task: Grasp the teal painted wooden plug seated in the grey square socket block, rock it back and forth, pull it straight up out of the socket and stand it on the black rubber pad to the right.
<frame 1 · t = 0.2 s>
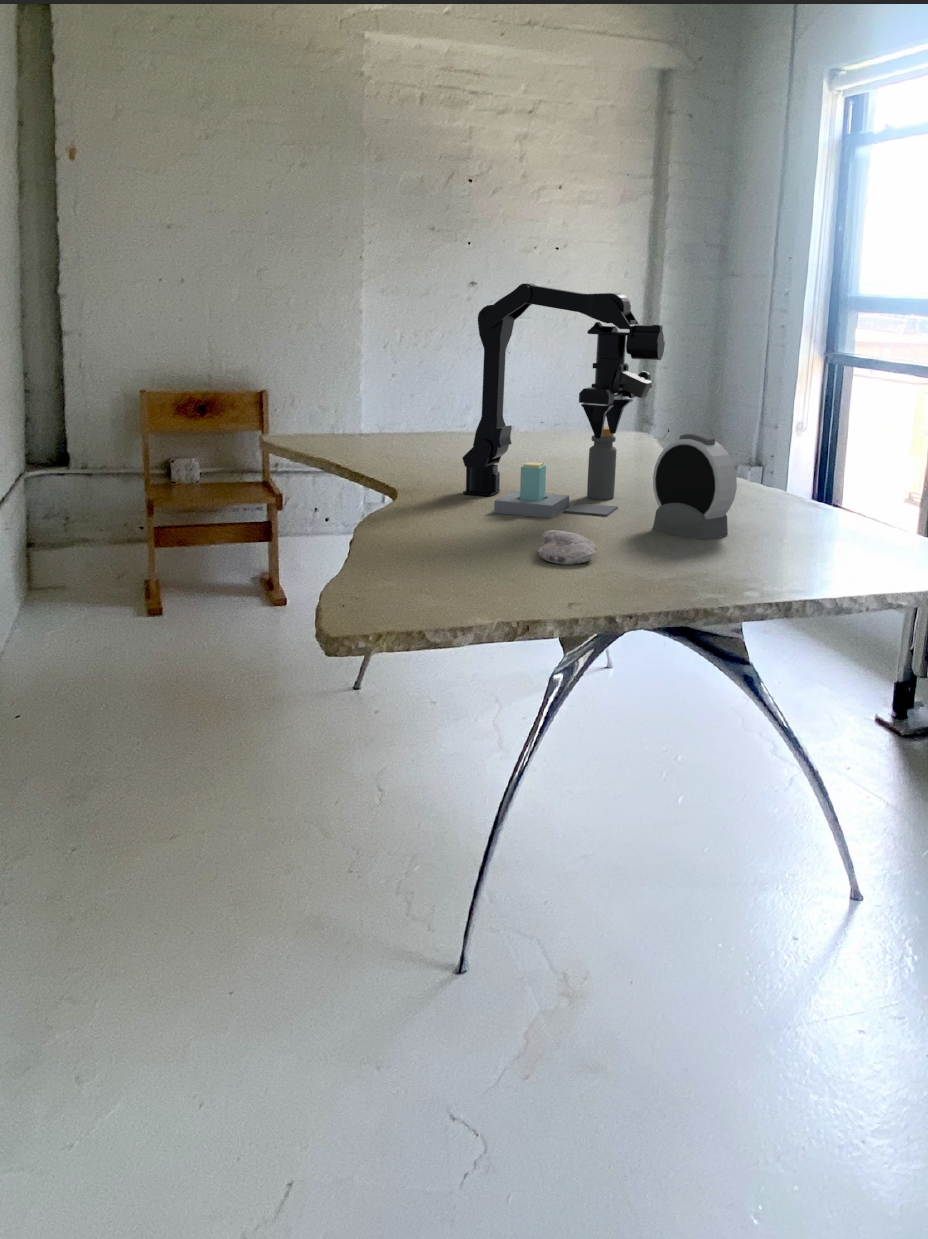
hand: (605, 436, 219), 14 cm above the table, fingers open, 9 cm apart
plug: (532, 487, 215), in the grey square socket block
alarm clock: (689, 532, 200), on the table
grey square socket block: (532, 510, 217), on the table
pad: (590, 510, 217), on the table
bottle: (600, 498, 231), on the table
fossil: (565, 559, 179), on the table
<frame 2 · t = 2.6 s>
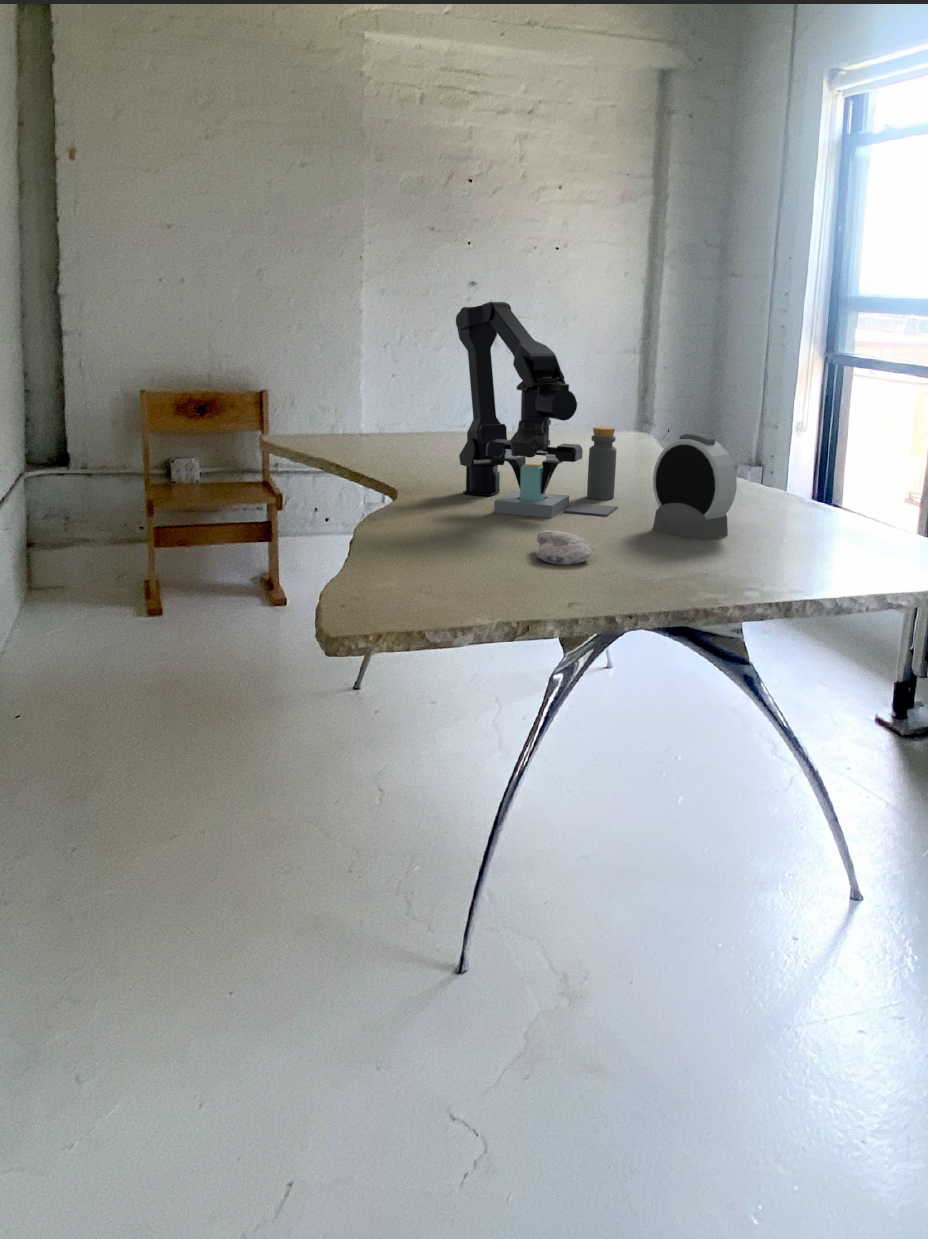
hand: (532, 493, 216), 4 cm above the table, fingers closed on plug, 4 cm apart
plug: (532, 487, 215), in the grey square socket block, touching gripper
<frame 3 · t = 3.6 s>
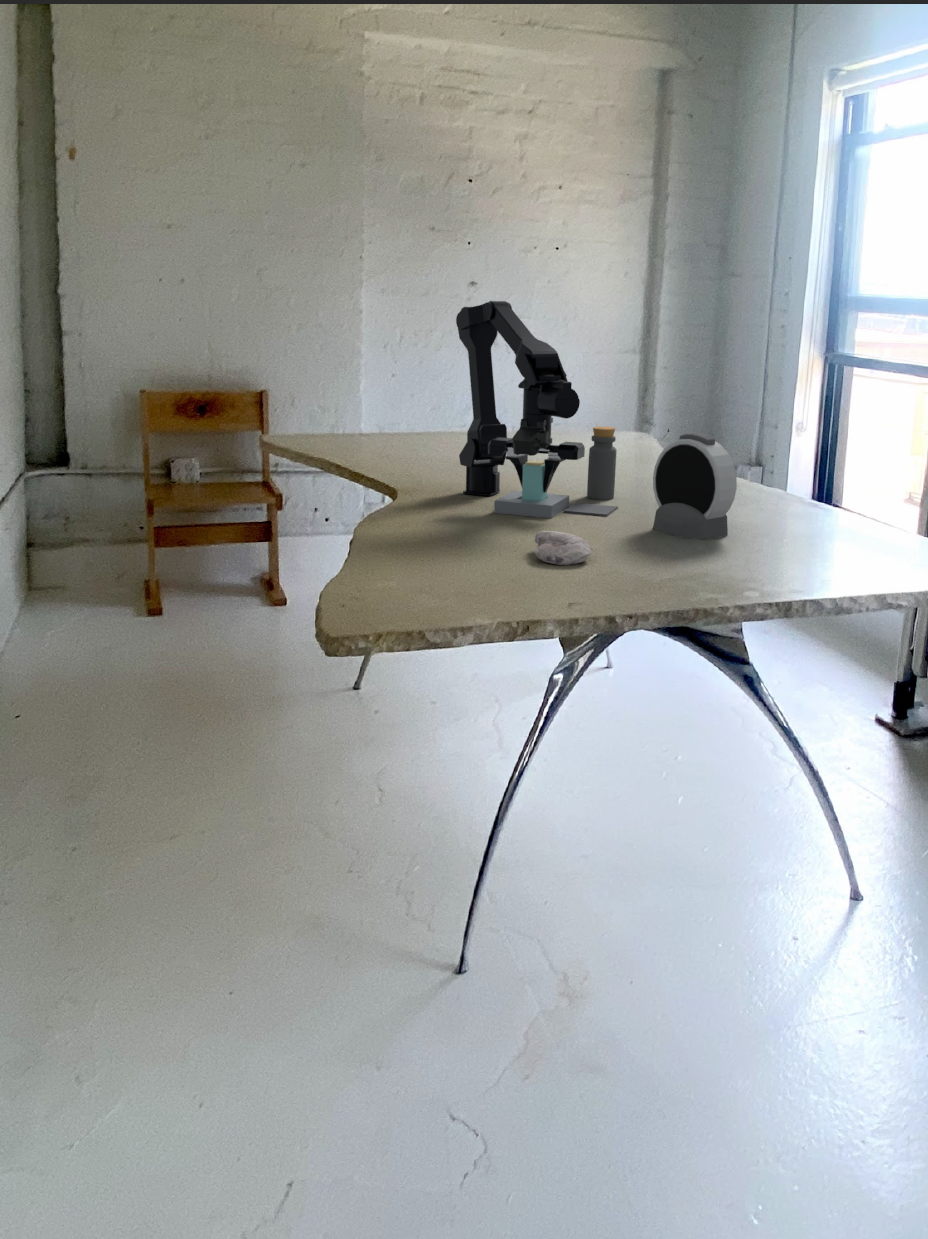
hand: (534, 491, 215), 4 cm above the table, fingers closed on plug, 4 cm apart
plug: (534, 485, 215), in the grey square socket block, touching gripper
everything else where it was.
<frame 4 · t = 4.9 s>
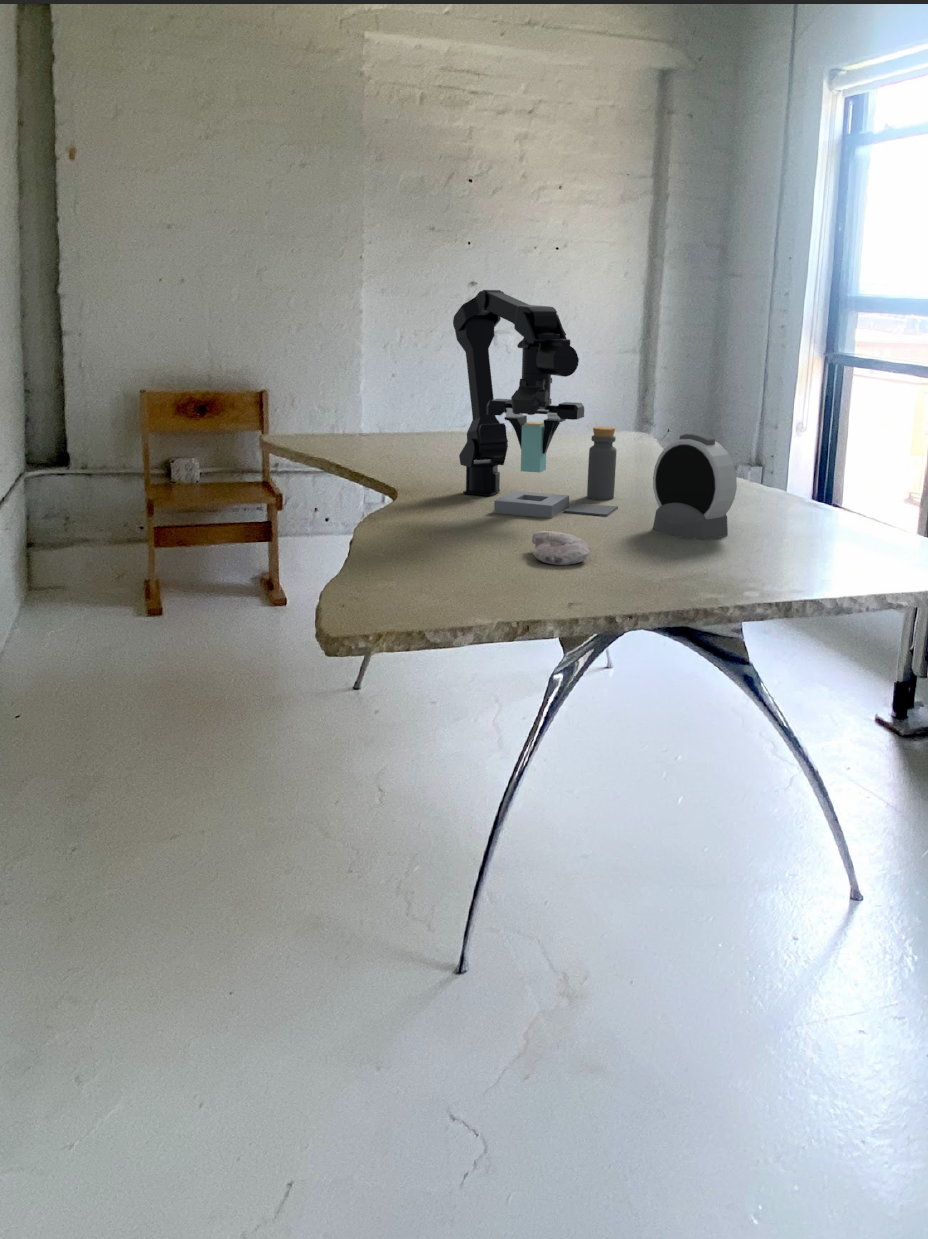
hand: (533, 452, 213), 12 cm above the table, fingers closed on plug, 4 cm apart
plug: (534, 446, 213), point 13 cm above the table, touching gripper
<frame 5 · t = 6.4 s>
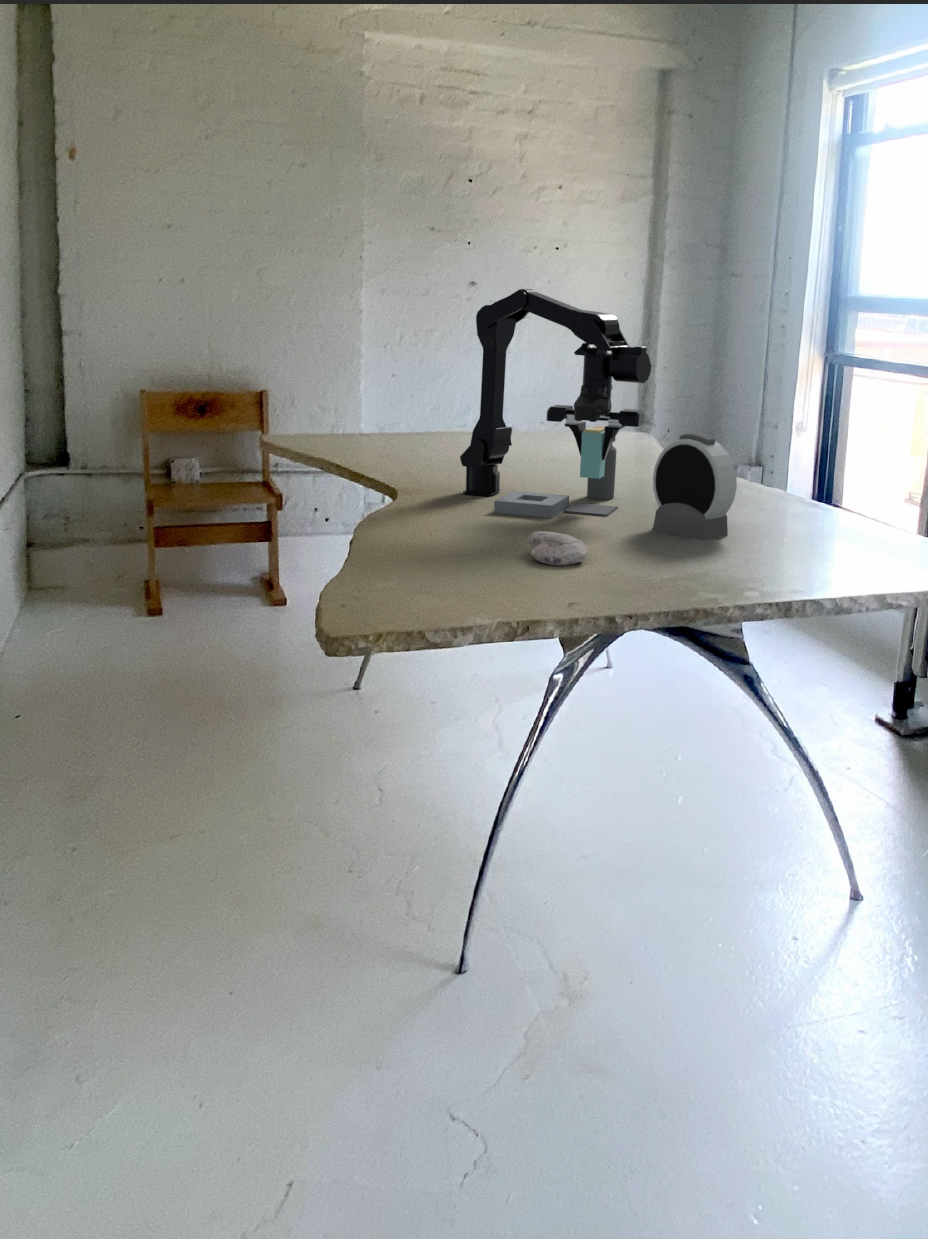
hand: (593, 459, 214), 10 cm above the table, fingers closed on plug, 4 cm apart
plug: (593, 453, 214), point 12 cm above the table, touching gripper
when the fingers open (5 cm above the table, at t = 7.6 s): plug drops 1 cm, resting on pad.
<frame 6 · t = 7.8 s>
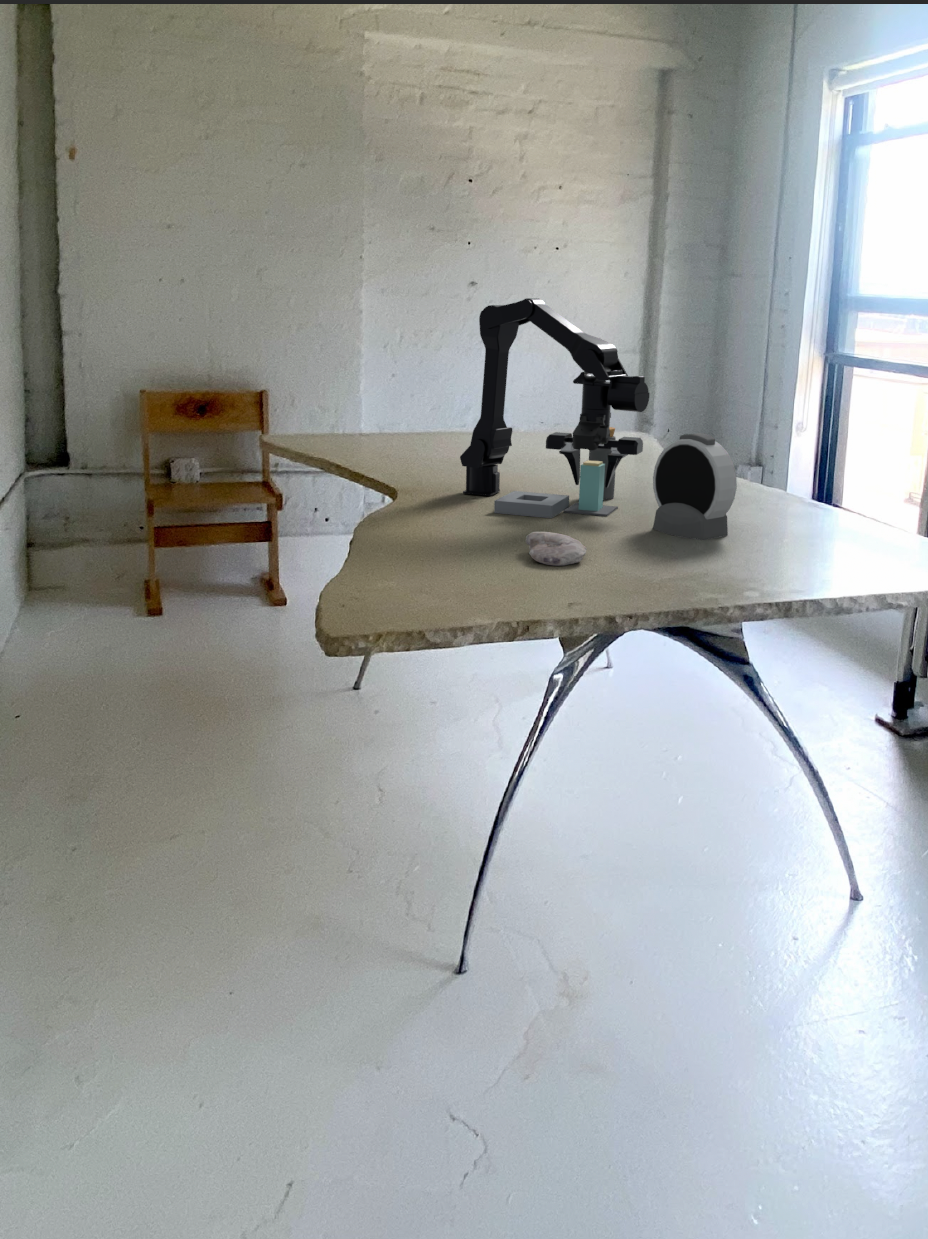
hand: (592, 486, 216), 5 cm above the table, fingers open, 6 cm apart
plug: (591, 485, 216), on the pad
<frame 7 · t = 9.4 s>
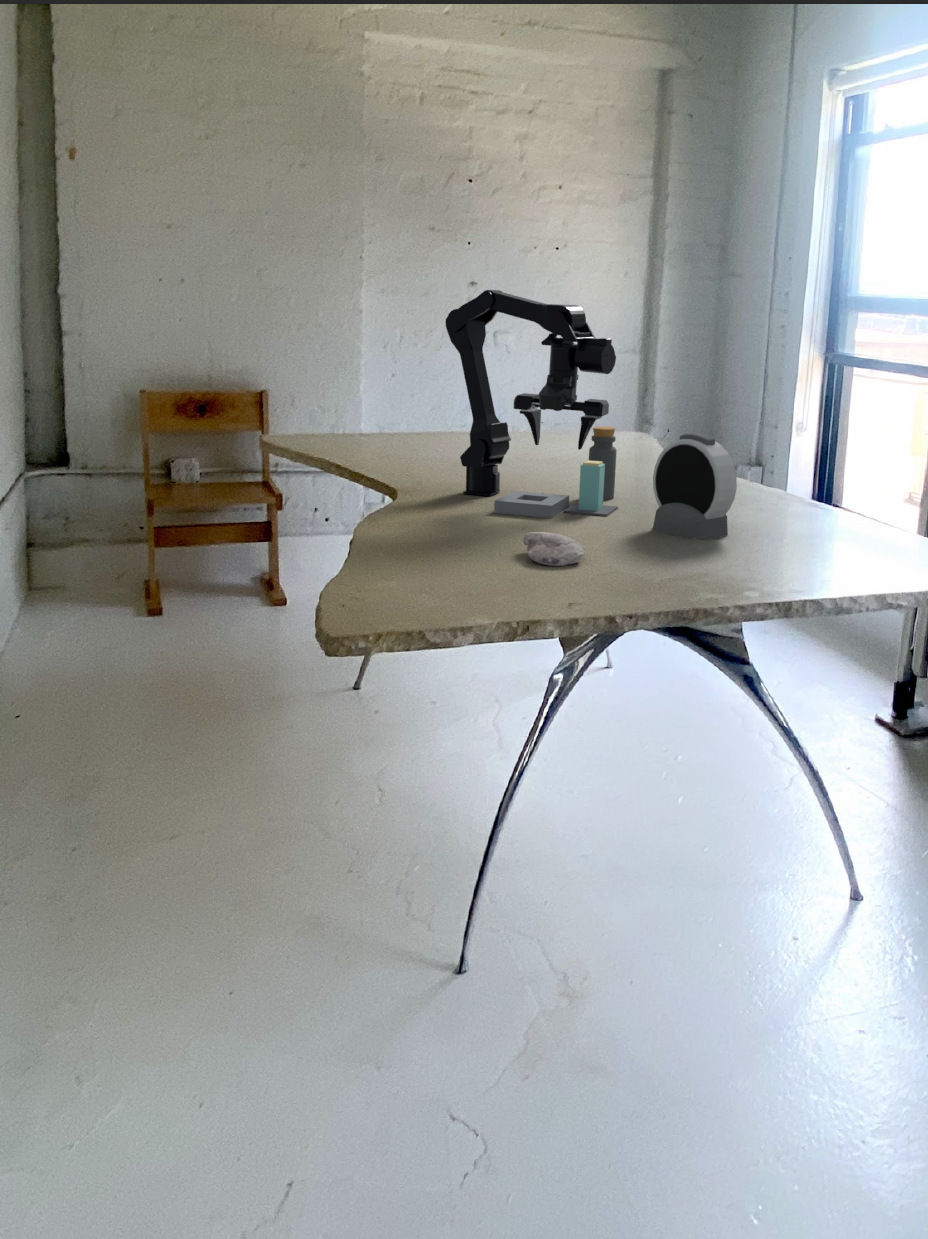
hand: (558, 447, 219), 12 cm above the table, fingers open, 9 cm apart
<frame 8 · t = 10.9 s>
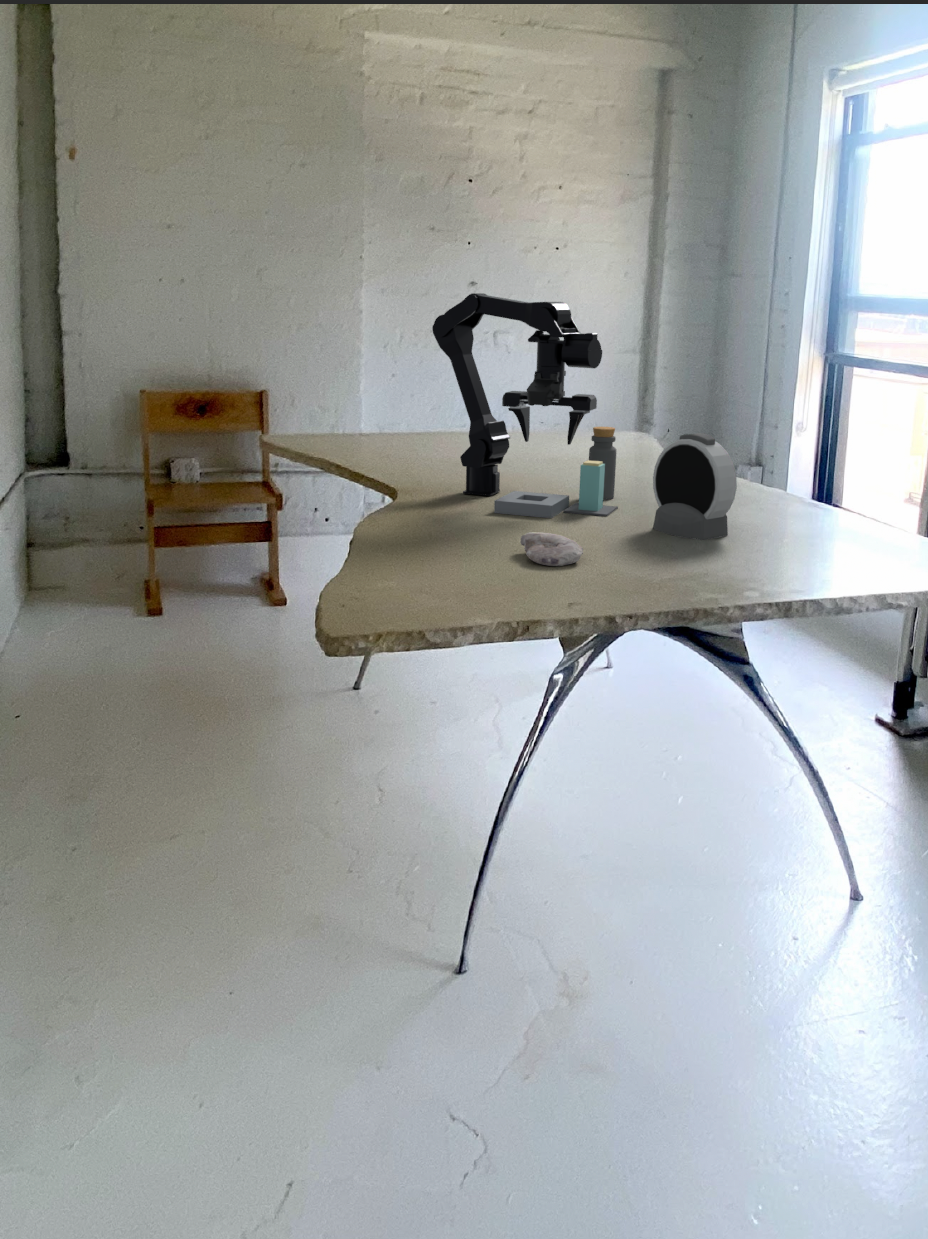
hand: (547, 443, 221), 13 cm above the table, fingers open, 9 cm apart
at the end: plug inside the target area on the pad (0.1 cm from its centre), point 5.1 cm above the pad's base; plug tilted 0°; plug touching pad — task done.
